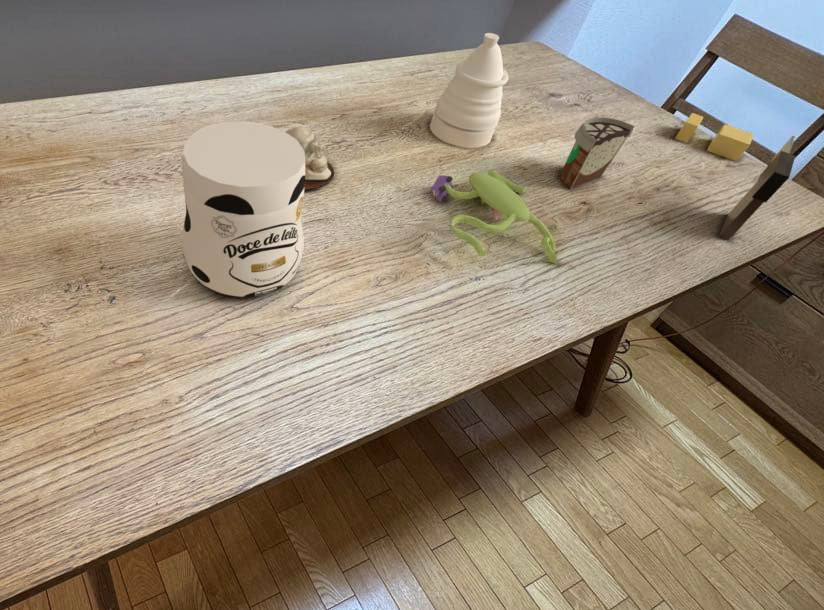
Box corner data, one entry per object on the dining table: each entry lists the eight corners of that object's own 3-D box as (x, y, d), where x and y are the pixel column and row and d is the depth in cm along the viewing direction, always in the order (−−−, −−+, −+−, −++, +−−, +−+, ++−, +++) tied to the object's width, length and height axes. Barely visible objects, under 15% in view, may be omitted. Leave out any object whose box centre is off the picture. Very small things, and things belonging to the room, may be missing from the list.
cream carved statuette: (348, 162, 95) (339, 136, 85) (322, 214, 97) (309, 195, 87) (293, 138, 98) (278, 110, 88) (268, 189, 99) (251, 168, 90)
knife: (765, 202, 85) (789, 177, 81) (751, 197, 86) (774, 171, 82) (778, 162, 93) (800, 138, 90) (765, 158, 94) (787, 133, 90)
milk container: (267, 325, 71) (275, 210, 56) (161, 280, 75) (143, 161, 60) (318, 256, 81) (337, 142, 66) (222, 219, 84) (220, 103, 69)
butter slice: (690, 135, 115) (703, 116, 112) (684, 145, 112) (698, 126, 109) (679, 131, 116) (692, 112, 112) (673, 140, 113) (686, 122, 109)
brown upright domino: (735, 220, 96) (771, 180, 89) (726, 242, 91) (764, 202, 85) (726, 216, 96) (761, 176, 90) (717, 238, 92) (753, 198, 85)
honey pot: (479, 156, 102) (519, 54, 87) (419, 135, 105) (449, 33, 91) (498, 131, 109) (539, 32, 94) (442, 111, 112) (473, 13, 97)
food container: (579, 162, 104) (608, 110, 96) (604, 177, 101) (636, 125, 93) (539, 176, 100) (566, 123, 91) (564, 193, 97) (594, 140, 89)
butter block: (739, 152, 112) (754, 134, 108) (734, 163, 109) (750, 144, 106) (710, 142, 114) (724, 123, 110) (705, 152, 111) (719, 133, 107)
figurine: (447, 272, 81) (460, 242, 76) (420, 176, 96) (429, 147, 92) (560, 278, 82) (579, 250, 77) (516, 183, 97) (529, 155, 93)
